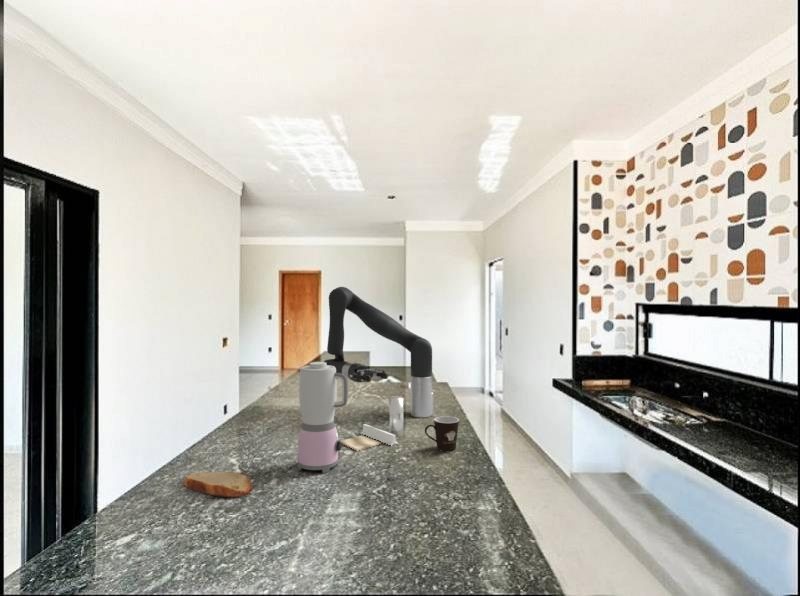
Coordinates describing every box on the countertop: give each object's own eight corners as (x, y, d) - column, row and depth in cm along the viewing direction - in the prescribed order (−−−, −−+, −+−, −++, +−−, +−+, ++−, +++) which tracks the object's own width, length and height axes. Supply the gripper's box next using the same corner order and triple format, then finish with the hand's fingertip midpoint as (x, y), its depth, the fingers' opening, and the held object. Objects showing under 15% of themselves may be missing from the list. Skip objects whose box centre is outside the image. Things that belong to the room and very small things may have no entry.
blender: (290, 472, 138) (290, 365, 138) (306, 458, 150) (306, 359, 150) (341, 476, 135) (341, 367, 135) (353, 461, 147) (353, 361, 147)
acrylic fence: (367, 432, 177) (367, 423, 177) (397, 444, 164) (397, 434, 164) (360, 434, 175) (360, 424, 175) (391, 446, 162) (391, 436, 162)
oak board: (362, 437, 171) (362, 435, 171) (380, 444, 163) (380, 442, 163) (339, 443, 165) (339, 440, 165) (357, 451, 157) (357, 449, 157)
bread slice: (183, 481, 133) (183, 468, 133) (249, 472, 139) (249, 460, 139) (178, 508, 116) (178, 493, 116) (253, 497, 123) (253, 483, 123)
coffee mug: (458, 444, 163) (458, 416, 163) (459, 453, 155) (459, 423, 155) (425, 443, 164) (425, 415, 164) (424, 452, 156) (424, 422, 156)
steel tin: (397, 431, 179) (397, 395, 178) (406, 434, 175) (406, 397, 175) (386, 434, 175) (386, 397, 175) (395, 437, 171) (395, 399, 171)
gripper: (340, 364, 190) (364, 369, 178) (368, 361, 200) (392, 366, 188) (340, 382, 191) (364, 389, 178) (368, 378, 200) (392, 384, 188)
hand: (378, 377), depth 183 cm, fingers open, 8 cm apart
